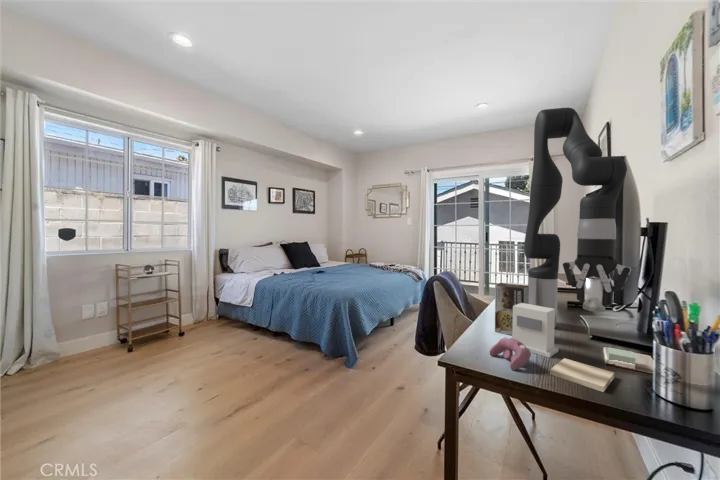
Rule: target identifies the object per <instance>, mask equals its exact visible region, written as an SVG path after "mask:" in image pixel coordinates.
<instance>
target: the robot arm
mask: <svg viewBox="0 0 720 480" xmlns="http://www.w3.org/2000/svg"><path fill="white" fill-rule="evenodd" d="M535 117H536V118H535V120H534V127H533V128H534V131H533V137H534V138H533V140H534V141H533V162H532V163H533V166H532V173H531V182H530V193H529V208H528V218H527V224H526V229H525V230H526V231H525V236H524V242H523V252H524V256H525V257H526V258H528V259H535V260H536V259H538V260H545V262H542V263H541V264H540V265H538V266H534V267H531V268H529V269H528V272H527V277H528V278H527V285H528V286H529V294H528V304H531V305H536V306H542V307H547V308H553V309H555V328H556V327H557V322H558V321H557V320H558V318H557V317H558V285H559V283H558V278H559V271H560V270H559V267H560V256H561V255H560V254H561V240H560V237H559V236H558V235H557V233H556V234H555V233H539V231H540V229H541V228H540V227H541V226H542V223H543V221H544V220H545V219H546V217H547V216H548V215H549V213H551V212H552V210H553V209H554V208H555V207H556V205H557V204H558V203H559V201H560V200H561V197H562V190H563V189H562V188H563V176H562V173H561V171H560V169H559V168H558V166H557V165H556V163H555V162H554V160H553V158H552V156H551V154H550V150H549V139H550V140H551V139H562V138H565V140H564V142H563V144H562V153H563V155H564V157H565V158H566V159H567V161H568V162H569V164H570V165H571V176H572V180H573V182H574V183H576V184H577V185H579V186H583V187H585V186H586V187H589V186H590V187H591V186H595V187H596V186H601V188H600V190H599V192H598V193H595V194H591V195H586V196H584V197H582V198H581V199H580V201H579V202H580V203H579V217H578V227H577V235H576V237H577V248H576V249H577V250H576V251H577V253H576V258H575V260H573V261H569V262H568V261H567V262H563V263H562V268H563V270H564V274H565V277H566V279H567V283H568V285H570V286H573V287H576V299H577V301H579V303H580V304H583V293H584V281H585V278H586V277H596V278H601V281H602V283H603V285H604V288H605V291H606V292H604V307H605V308H609V307H610V306H612V305H613V303H614V293H615V292H619V291H622V290H623V289H624V288H625V285H626V283H627V281H628V279H629V277H630V274H631V272H632V271H633V269H632V267H631V266H625V265H621V264H619V263H618V262H617V260H616V248H617V246H616V245H617V243H616V241H617V225H616V208H617V207H616V205H617V200H618V198H619V194H620V191H621V189H622V186H623V183H624V181H625V179H626V175H627V173H628V165H627V163H626V161H625V159H623V158H622V157H621V156H616V155H613V156H612V155H611V156H610V155H609V156H603V150H602V148H601V147H600V146H599V145H598V144H597V143H596V142H595V141H594V140H593V139H592V138H591V137H590V136H589V134H588V132H587V130H586V128H585V126H584V124H583V122H582V119H581V118H580V115H579V114H578V112H577V111H576V110H575V109H574V108H572V107H559V108H547V109H540V111H539V112H538V113H537V114H536V116H535ZM575 266H576V267H577V269H578V270H579V271H580V274H579V277H578V281H577V280H576V279H577V278H576V276H575V273H574V270H575ZM615 270H617V274H618V275H619V278H618V280H617V282H616V284H615V285H613V282H612V278H611V276H610V275H611V273H613V272H614V271H615Z"/></svg>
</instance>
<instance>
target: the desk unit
mask: <svg viewBox="0 0 720 480" xmlns="http://www.w3.org/2000/svg"><path fill="white" fill-rule="evenodd" d="M555 328H556V327H555V309H553V308H547V307H542V306H536V305H531V304H525V303H520V304H517V305H514V306H513V328H512V335H511V336H512V337H511V338H513V339H515V340H518V341H520V342H521V343H523V344H524V345H525V346H526V348H527V349H529V350H530V352H531V354H532V353H533V354H536V355H539V356H543V357H545V358H549V359H550V358H551V357H552V356H554V355H555V354H557V353H558V352H559V351H560V350H559V347H558V346H555Z"/></svg>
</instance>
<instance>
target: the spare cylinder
mask: <svg viewBox="0 0 720 480" xmlns="http://www.w3.org/2000/svg"><path fill="white" fill-rule="evenodd" d="M604 292H606V291H605V288H604V285H603V283H602V281H601V278H596V277H586V278H585V281H584V293H583V303H582V309H583V310H586V311H590V312H596V313H604V312H606V307H604Z"/></svg>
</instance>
